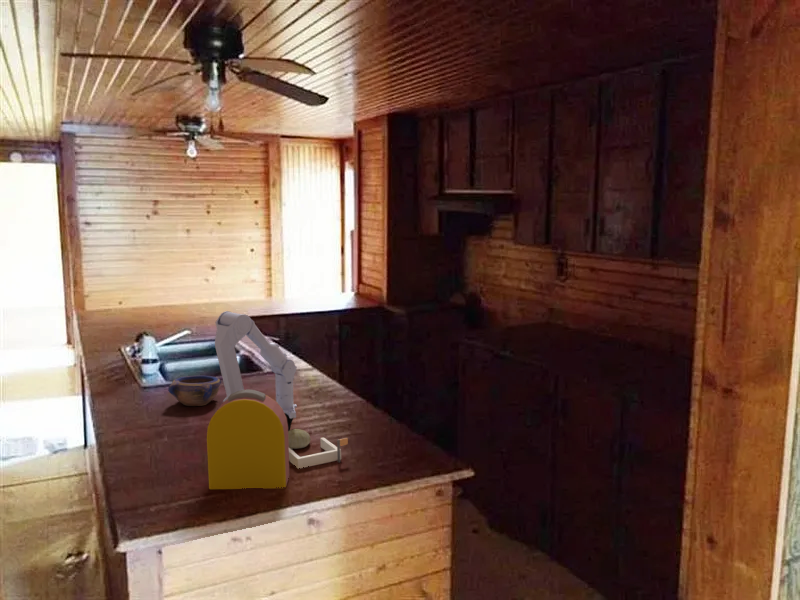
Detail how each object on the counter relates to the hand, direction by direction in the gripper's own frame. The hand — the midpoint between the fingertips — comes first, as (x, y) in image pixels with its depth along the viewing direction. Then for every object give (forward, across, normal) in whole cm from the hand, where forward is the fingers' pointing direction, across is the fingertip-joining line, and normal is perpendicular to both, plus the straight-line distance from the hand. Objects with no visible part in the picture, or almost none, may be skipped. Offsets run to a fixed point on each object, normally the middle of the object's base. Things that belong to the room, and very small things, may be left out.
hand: (285, 433), depth 225 cm
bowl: (+1, +53, +16) cm, 55 cm away
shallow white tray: (+1, -23, -1) cm, 23 cm away
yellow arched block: (+1, -29, +22) cm, 37 cm away
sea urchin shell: (+1, -9, 0) cm, 10 cm away
